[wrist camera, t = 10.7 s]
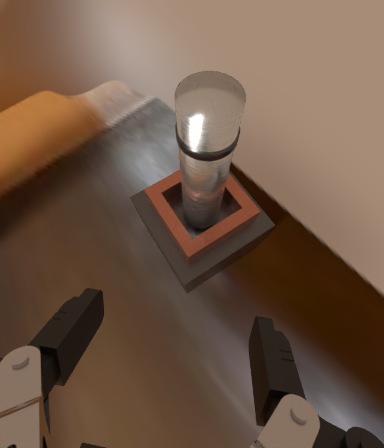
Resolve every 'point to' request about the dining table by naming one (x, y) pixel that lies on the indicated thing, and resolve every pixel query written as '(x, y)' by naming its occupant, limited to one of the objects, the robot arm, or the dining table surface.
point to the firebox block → (201, 229)
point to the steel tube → (206, 140)
